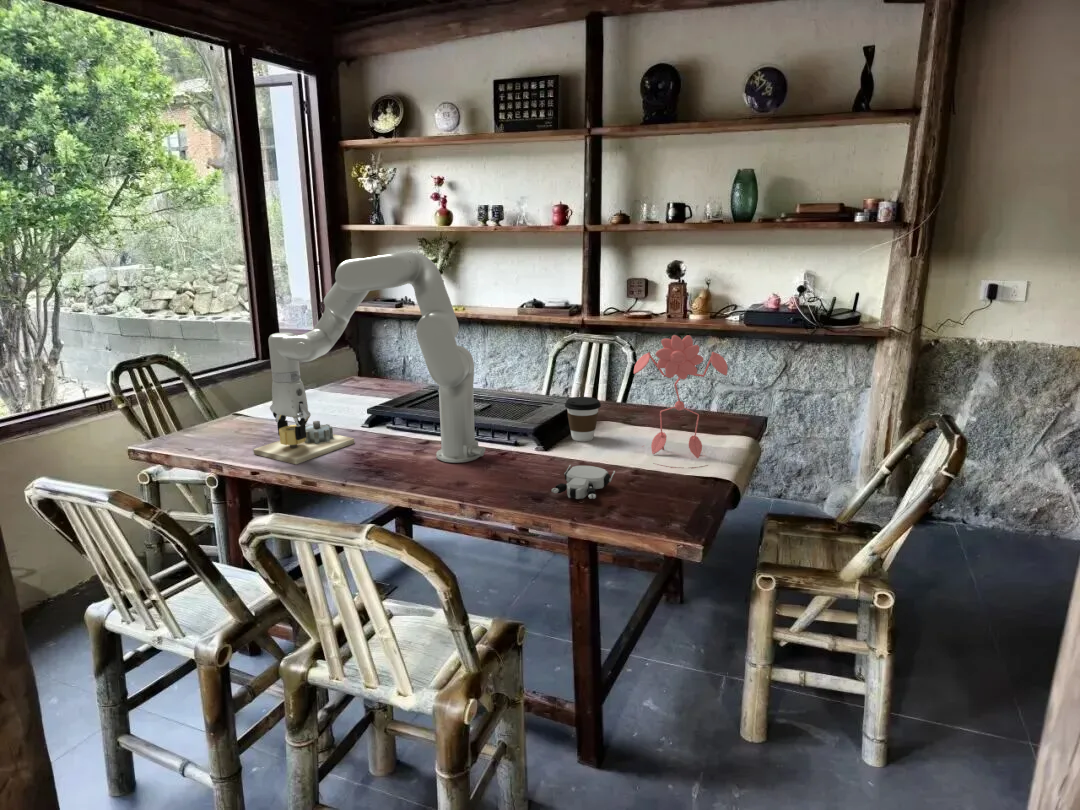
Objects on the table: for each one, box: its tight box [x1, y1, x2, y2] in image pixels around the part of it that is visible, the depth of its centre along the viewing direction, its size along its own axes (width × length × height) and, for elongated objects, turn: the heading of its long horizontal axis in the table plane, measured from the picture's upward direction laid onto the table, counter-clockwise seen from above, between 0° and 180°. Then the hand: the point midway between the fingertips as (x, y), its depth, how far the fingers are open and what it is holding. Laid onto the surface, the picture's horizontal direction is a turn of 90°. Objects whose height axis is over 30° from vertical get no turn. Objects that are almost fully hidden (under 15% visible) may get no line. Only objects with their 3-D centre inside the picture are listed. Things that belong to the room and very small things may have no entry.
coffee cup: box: [564, 396, 602, 442], centre depth 212 cm, size 11×11×12 cm
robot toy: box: [551, 464, 616, 500], centre depth 171 cm, size 12×4×15 cm
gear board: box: [252, 420, 356, 465], centre depth 205 cm, size 18×22×7 cm
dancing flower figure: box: [633, 334, 728, 469], centre depth 190 cm, size 15×26×35 cm, turn 68°
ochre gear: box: [278, 424, 306, 445], centre depth 202 cm, size 7×7×4 cm
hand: (292, 436), depth 202 cm, fingers closed on ochre gear, 6 cm apart
